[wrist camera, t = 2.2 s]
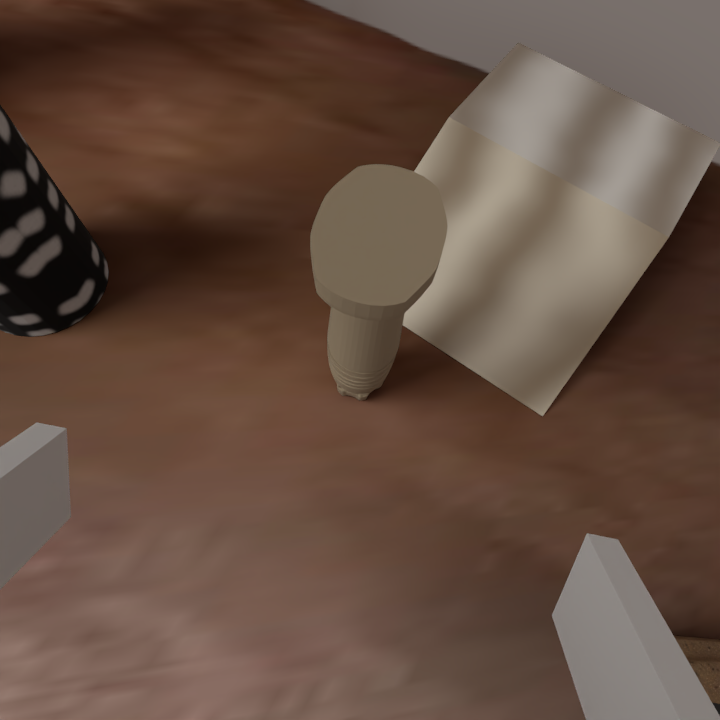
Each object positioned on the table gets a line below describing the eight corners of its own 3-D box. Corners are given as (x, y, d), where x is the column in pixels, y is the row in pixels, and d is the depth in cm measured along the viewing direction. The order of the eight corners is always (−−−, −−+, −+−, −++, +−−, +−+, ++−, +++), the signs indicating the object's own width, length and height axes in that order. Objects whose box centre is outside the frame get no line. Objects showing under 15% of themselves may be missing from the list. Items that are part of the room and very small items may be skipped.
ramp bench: (340, 298, 36) (343, 230, 29) (487, 128, 44) (518, 42, 37) (532, 424, 33) (587, 383, 26) (653, 218, 41) (721, 143, 34)
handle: (405, 345, 33) (460, 182, 19) (380, 435, 31) (424, 321, 17) (336, 326, 33) (342, 151, 20) (305, 413, 31) (288, 283, 17)
